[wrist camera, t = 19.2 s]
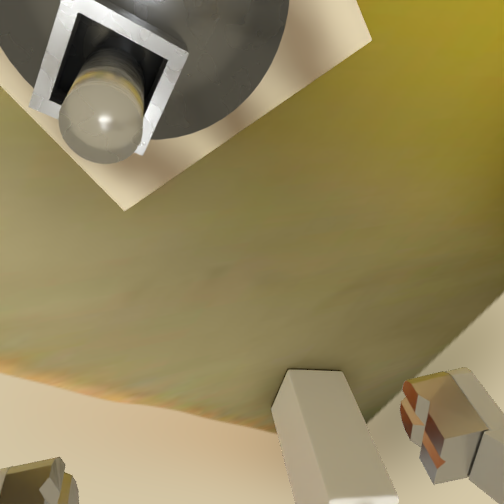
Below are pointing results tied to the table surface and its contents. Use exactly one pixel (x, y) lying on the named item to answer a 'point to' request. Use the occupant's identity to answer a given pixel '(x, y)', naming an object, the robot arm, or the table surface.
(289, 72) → the board
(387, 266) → the table surface
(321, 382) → the milk carton
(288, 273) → the table surface
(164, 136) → the grey disc with tab
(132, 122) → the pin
